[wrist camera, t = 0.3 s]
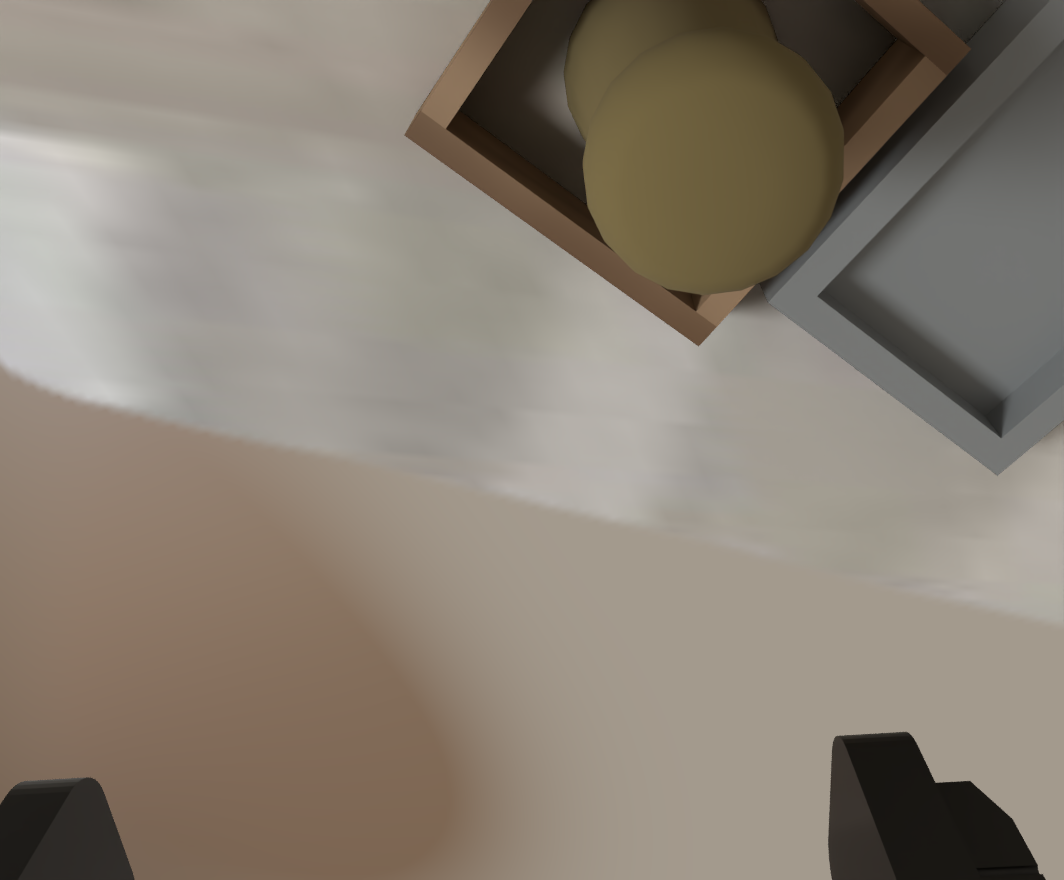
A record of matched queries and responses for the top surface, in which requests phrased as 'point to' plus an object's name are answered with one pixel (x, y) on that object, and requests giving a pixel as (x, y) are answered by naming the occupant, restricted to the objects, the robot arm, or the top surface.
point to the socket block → (567, 220)
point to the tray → (957, 248)
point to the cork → (701, 140)
